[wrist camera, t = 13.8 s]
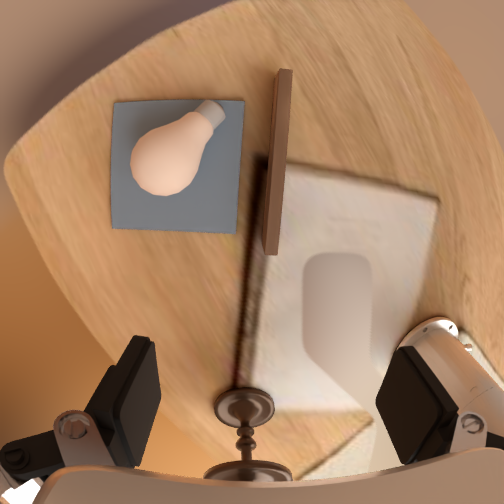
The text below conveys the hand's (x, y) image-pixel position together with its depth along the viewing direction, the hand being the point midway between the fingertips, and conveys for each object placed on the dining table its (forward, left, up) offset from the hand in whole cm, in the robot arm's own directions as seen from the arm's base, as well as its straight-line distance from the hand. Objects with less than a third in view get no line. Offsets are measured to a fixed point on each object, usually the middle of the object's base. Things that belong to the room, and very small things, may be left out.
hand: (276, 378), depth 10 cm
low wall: (-2, -7, -23) cm, 24 cm away
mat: (+8, -6, -23) cm, 26 cm away
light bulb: (+7, -8, -23) cm, 25 cm away
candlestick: (-1, +28, -23) cm, 36 cm away
